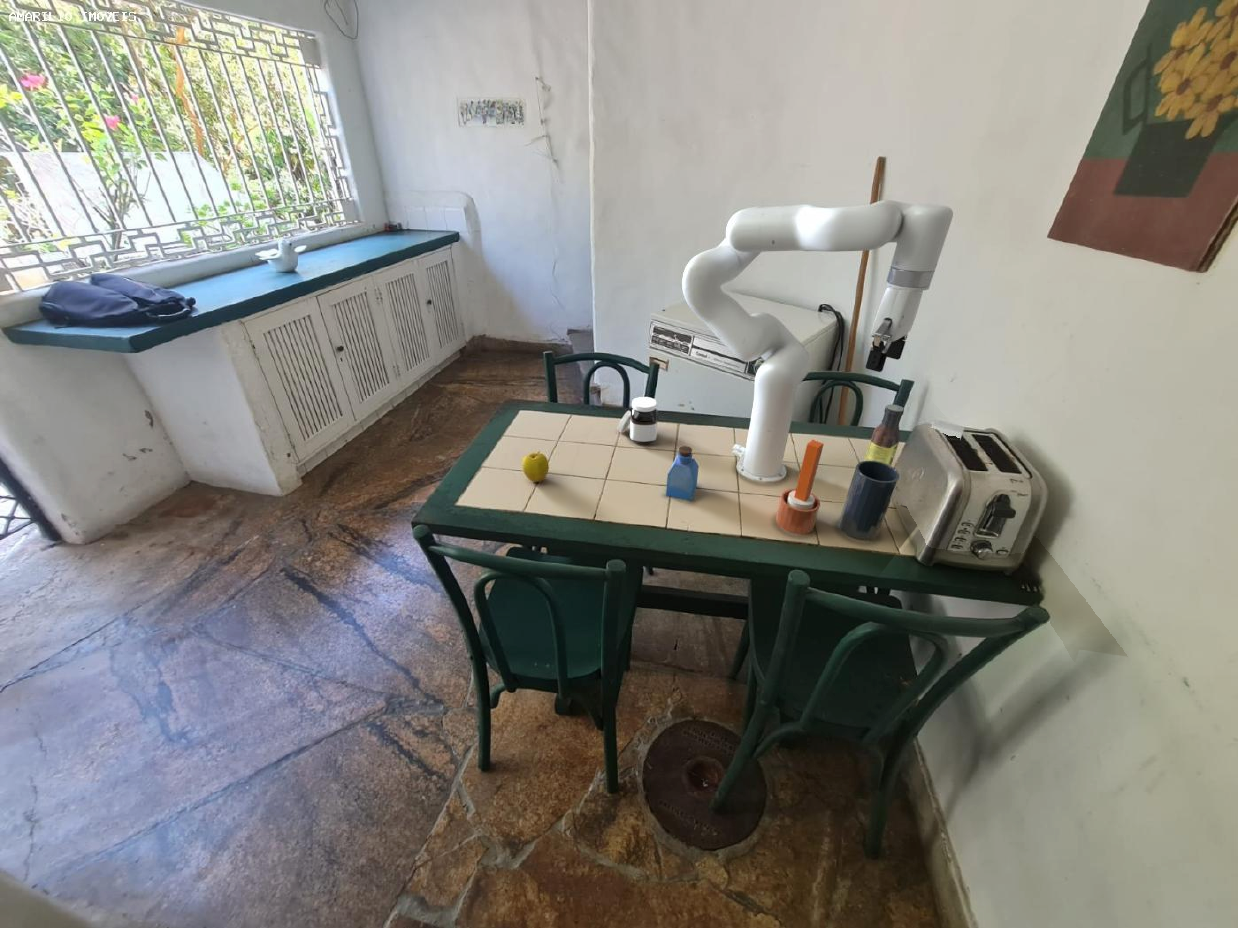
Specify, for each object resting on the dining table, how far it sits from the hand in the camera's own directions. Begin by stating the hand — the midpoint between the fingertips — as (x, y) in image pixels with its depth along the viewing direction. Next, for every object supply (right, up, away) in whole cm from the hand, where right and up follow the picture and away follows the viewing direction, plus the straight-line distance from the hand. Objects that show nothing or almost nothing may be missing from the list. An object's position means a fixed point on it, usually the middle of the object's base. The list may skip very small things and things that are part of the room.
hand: (882, 363), depth 106 cm
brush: (-15, -34, +9) cm, 38 cm away
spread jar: (-50, -13, +42) cm, 66 cm away
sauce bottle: (+11, -24, +26) cm, 37 cm away
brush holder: (-15, -34, +9) cm, 39 cm away
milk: (+17, -31, +17) cm, 39 cm away
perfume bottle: (-39, -28, +20) cm, 52 cm away
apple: (-75, -25, +23) cm, 83 cm away
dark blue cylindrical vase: (-2, -36, +8) cm, 37 cm away
